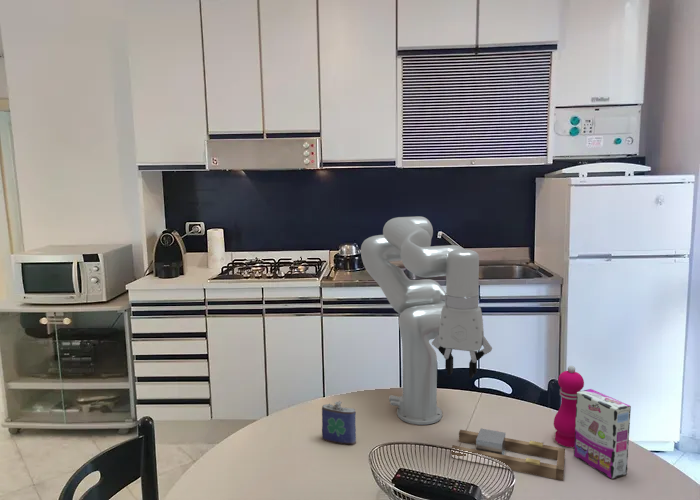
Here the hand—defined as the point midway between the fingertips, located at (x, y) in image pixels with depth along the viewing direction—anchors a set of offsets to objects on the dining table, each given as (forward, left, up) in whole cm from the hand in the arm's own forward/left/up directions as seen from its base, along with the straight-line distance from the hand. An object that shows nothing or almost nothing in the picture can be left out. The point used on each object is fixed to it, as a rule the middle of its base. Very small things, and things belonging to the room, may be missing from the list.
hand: (460, 374), depth 127 cm
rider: (+8, 0, -20) cm, 21 cm away
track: (+12, 0, -19) cm, 23 cm away
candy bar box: (+32, +5, -20) cm, 37 cm away
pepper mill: (+25, +14, -20) cm, 34 cm away
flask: (-29, -8, -20) cm, 36 cm away
